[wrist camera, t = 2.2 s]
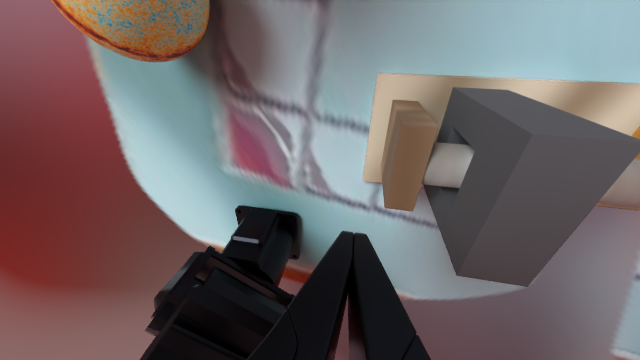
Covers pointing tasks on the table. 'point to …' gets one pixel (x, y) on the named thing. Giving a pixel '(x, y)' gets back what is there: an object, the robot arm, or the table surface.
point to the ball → (140, 25)
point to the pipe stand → (453, 159)
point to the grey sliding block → (521, 181)
